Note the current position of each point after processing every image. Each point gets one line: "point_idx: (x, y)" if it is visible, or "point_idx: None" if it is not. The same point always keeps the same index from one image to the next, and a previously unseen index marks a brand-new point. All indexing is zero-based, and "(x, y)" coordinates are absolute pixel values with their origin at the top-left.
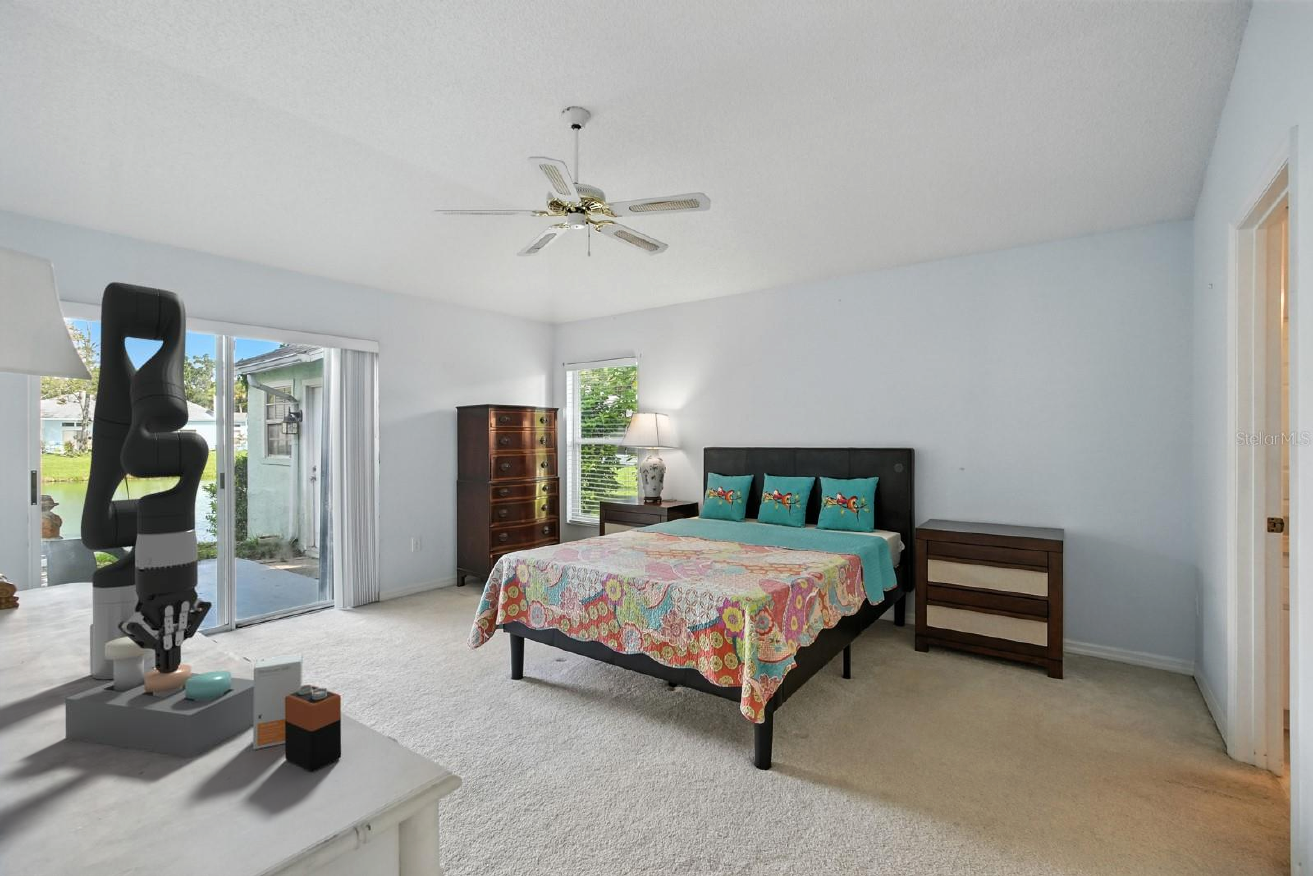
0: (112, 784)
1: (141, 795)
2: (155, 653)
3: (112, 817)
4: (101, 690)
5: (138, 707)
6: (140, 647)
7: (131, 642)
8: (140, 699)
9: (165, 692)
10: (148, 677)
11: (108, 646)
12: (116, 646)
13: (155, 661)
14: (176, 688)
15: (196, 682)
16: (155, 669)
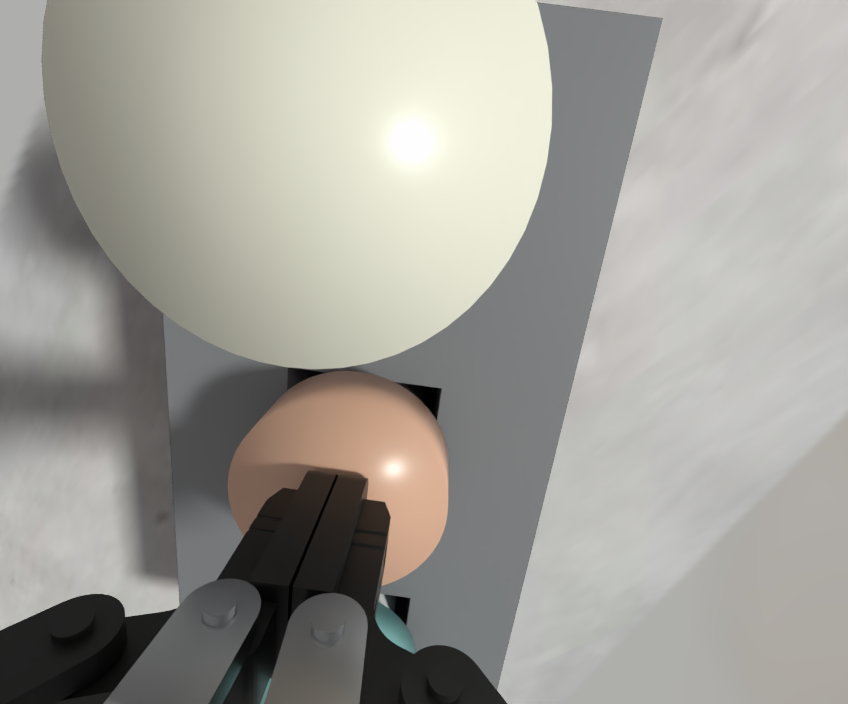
0: (102, 496)
1: (95, 591)
2: (222, 573)
3: (24, 599)
4: None
5: (177, 479)
6: (55, 607)
7: (242, 250)
8: (238, 420)
9: None
10: (237, 474)
11: (49, 75)
12: (80, 203)
13: (250, 527)
14: None
15: (264, 701)
16: (351, 404)
